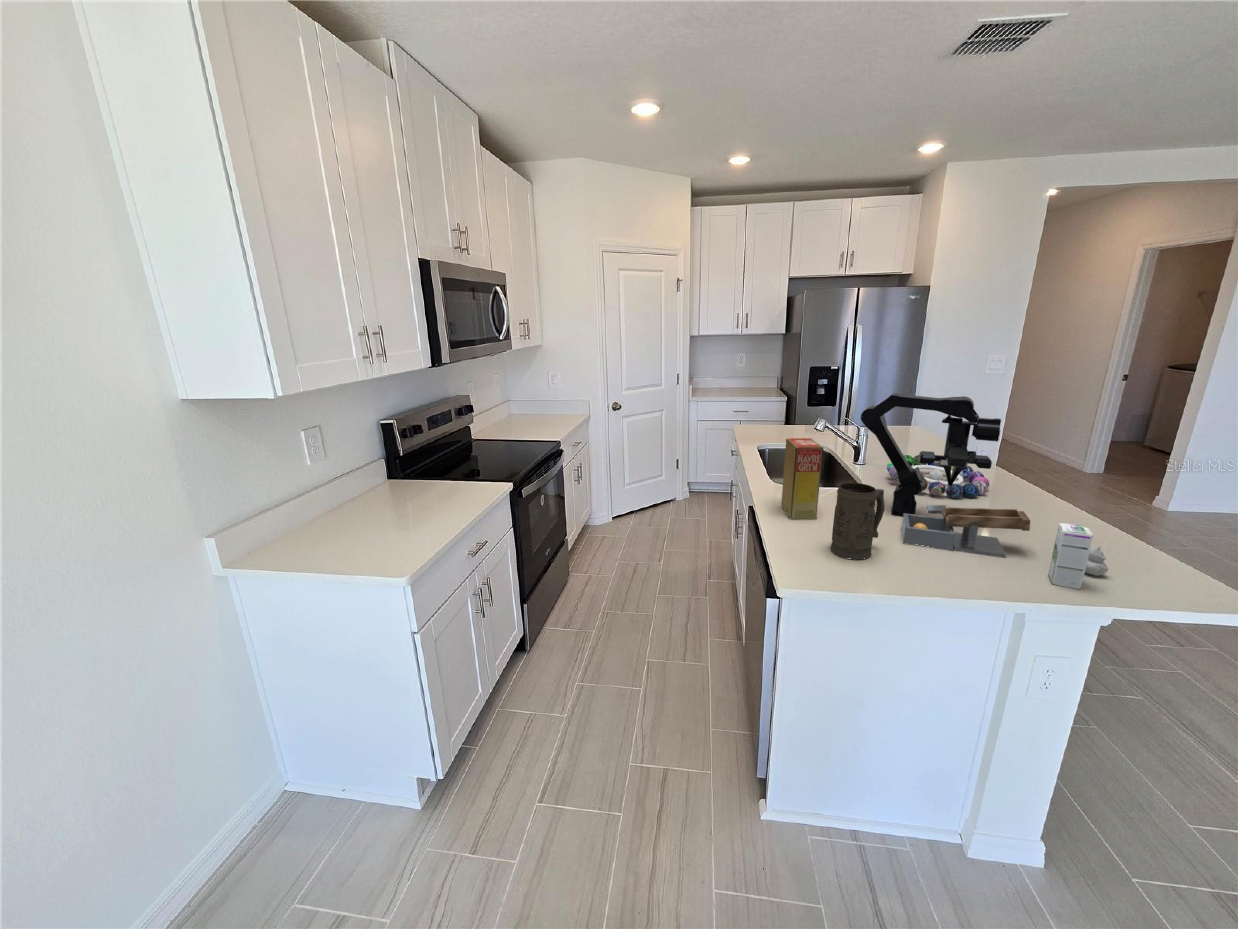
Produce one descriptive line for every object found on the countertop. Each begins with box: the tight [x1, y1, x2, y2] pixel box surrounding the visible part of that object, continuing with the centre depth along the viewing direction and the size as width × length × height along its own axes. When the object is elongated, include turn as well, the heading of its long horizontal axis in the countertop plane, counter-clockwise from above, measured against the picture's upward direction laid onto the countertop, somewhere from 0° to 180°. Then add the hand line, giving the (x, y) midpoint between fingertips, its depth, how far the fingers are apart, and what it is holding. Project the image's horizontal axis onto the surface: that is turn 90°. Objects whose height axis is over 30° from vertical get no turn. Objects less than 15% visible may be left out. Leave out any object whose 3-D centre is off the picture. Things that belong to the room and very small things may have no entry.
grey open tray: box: [900, 513, 956, 551], centre depth 151 cm, size 12×12×5 cm
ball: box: [913, 523, 928, 529], centre depth 152 cm, size 4×4×4 cm
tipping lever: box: [926, 504, 1031, 532], centre depth 148 cm, size 23×16×4 cm
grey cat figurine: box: [1085, 545, 1109, 577], centre depth 128 cm, size 5×7×8 cm
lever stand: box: [953, 524, 1007, 559], centre depth 145 cm, size 12×12×8 cm
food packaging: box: [780, 437, 824, 520], centre depth 171 cm, size 13×9×25 cm
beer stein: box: [830, 482, 885, 560], centre depth 143 cm, size 15×11×20 cm
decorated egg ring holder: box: [886, 454, 990, 500], centre depth 197 cm, size 35×35×9 cm
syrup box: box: [1047, 522, 1094, 590], centre depth 124 cm, size 6×6×14 cm
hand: (949, 485), depth 161 cm, fingers closed
